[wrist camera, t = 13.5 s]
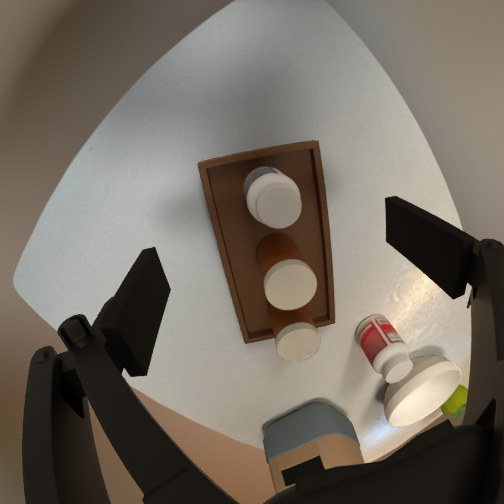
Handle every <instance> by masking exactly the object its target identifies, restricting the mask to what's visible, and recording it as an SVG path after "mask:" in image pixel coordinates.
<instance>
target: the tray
mask: <svg viewBox="0 0 504 504" xmlns="http://www.w3.org/2000/svg"><path fill="white" fill-rule="evenodd" d="M266 166H267V167H272V168H275V169H277V170H279V171H280V172H282V173H283V174H284V175H286V176H287V177H289V178H290V179H292V180H293V181H294V182H295V184H296V185H297V187H298V189H299V192H300V199H301V203H302V209H301V213H300V215H299V217H298V219H297V220H296V221H295V222H294V223H293V224H292V225H290V226H288V227H286V228H280V229H277V228H272V227H269V226H267V225H266V224H263V223H261V222H259V221H258V220H256V219H255V218H254V217H253V216H252V214H251V213H250V211H249V209H248V207H247V203H246V200H245V197H244V192H243V186H244V182H245V179H246V177H247V176H248V175H249V173H251V172H252V171H253V170H255V169H257V168H259V167H266ZM198 168H199V172H200V177H201V181H202V185H203V189H204V193H205V197H206V201H207V205H208V209H209V213H210V217H211V221H212V225H213V229H214V233H215V237H216V241H217V245H218V249H219V252H220V256H221V260H222V264H223V267H224V271H225V275H226V279H227V282H228V286H229V290H230V293H231V297H232V300H233V304H234V308H235V311H236V315H237V318H238V322H239V325H240V329H241V332H242V335H243V339H244V342H245V344H247V343H252V342H257V341H262V340H267V339H272V338H275V337H274V332H273V328H272V324H271V320H270V315H269V311H268V307H267V302H268V299H267V297H266V294H265V290H264V282H263V278H262V274H261V270H260V266H259V262H258V258H257V247H258V244H259V243H260V241H261V240H262V239H263V238H264V237H265V236H267V235H269V234H272V233H283V234H286V235H288V236H289V237H290V238H291V239H292V240H293V241H294V243H295V245H296V246H297V248H298V250H299V251H300V253H301V255H302V256H303V258H304V260H305V261H306V263H307V265H308V266H309V267H310V268H311V270H312V271H313V273H314V275H315V277H316V280H317V288H316V292H315V294H314V296H313V297H312V299H311V300H310V301H309V302H308V303H307V304H305V305H306V307H307V309H308V312H309V314H310V316H311V319H312V321H313V323H314V326H315V328H319V327H322V326H326V325H330V324H334V323H335V303H334V282H333V265H332V251H331V239H330V228H329V218H328V209H327V200H326V191H325V183H324V176H323V168H322V161H321V155H320V148H319V141H314V140H313V141H305V142H298V143H292V144H285V145H279V146H273V147H268V148H262V149H257V150H252V151H246V152H241V153H237V154H232V155H227V156H223V157H218V158H214V159H209V160H205V161H201V162H199V163H198Z"/></svg>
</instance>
